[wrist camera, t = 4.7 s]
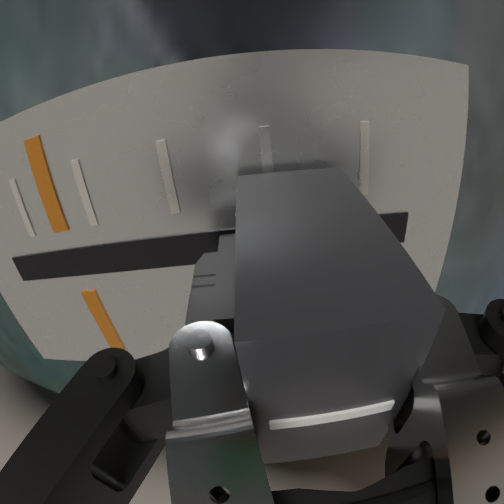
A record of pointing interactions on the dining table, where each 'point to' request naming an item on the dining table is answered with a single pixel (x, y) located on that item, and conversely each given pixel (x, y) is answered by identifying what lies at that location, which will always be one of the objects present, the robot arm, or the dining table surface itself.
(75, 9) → the dining table surface
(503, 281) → the dining table surface
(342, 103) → the console board
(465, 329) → the robot arm
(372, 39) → the dining table surface
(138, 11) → the dining table surface
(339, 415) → the fader knob
